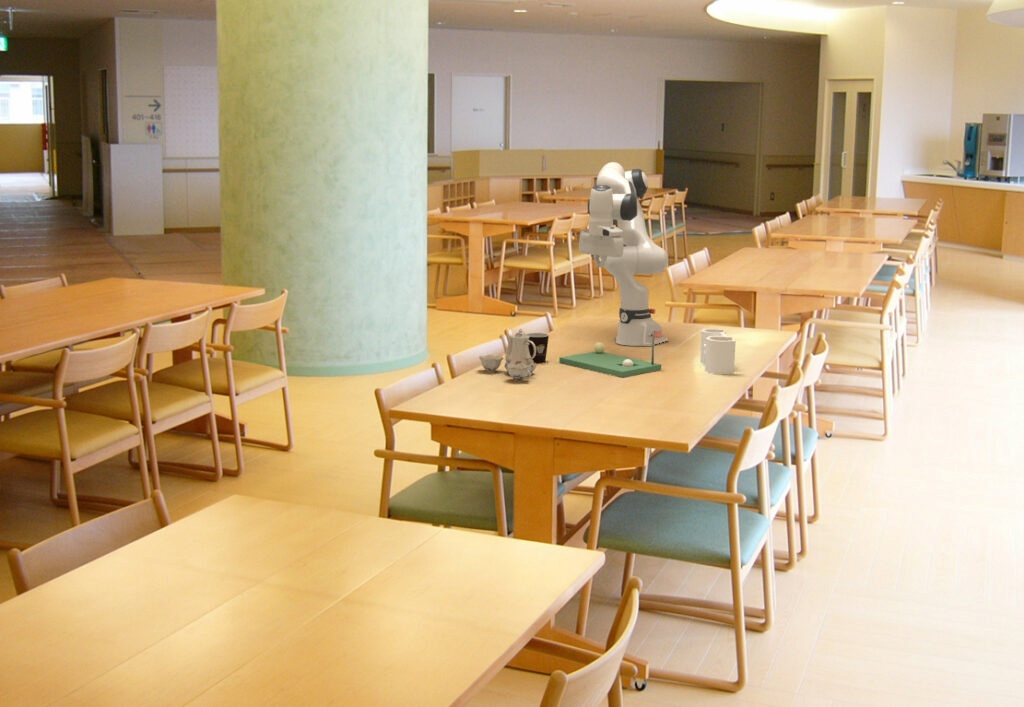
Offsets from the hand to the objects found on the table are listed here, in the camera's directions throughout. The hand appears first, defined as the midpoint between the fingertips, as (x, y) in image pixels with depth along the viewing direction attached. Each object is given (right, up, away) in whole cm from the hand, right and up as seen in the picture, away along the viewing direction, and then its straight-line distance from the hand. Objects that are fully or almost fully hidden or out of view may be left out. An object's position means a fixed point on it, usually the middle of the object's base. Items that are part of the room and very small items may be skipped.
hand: (600, 267), depth 411 cm
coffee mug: (-25, -35, -1) cm, 43 cm away
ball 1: (0, -30, +5) cm, 30 cm away
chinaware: (-32, -40, -24) cm, 56 cm away
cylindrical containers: (+41, -37, -9) cm, 56 cm away
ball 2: (+9, -36, -16) cm, 40 cm away
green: (+3, -37, -9) cm, 38 cm away
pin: (+19, -36, -14) cm, 43 cm away
